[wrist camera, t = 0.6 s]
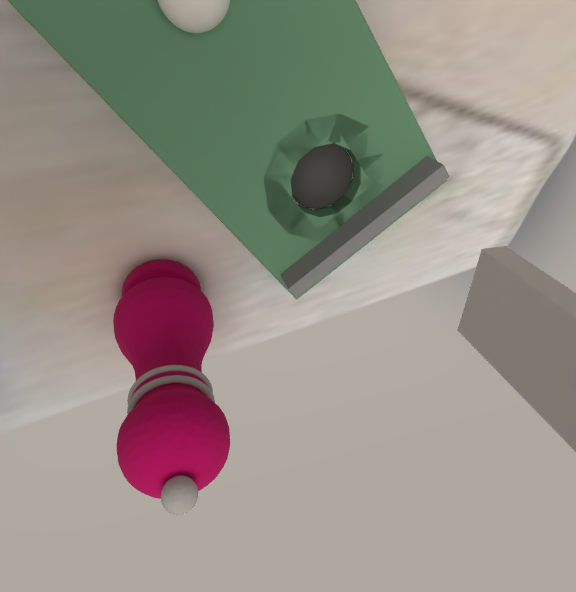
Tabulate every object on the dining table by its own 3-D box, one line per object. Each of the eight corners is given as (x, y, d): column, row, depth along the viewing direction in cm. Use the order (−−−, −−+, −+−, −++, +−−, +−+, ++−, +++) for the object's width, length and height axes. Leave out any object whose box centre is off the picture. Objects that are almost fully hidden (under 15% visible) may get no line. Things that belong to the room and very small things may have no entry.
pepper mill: (156, 341, 40) (168, 571, 24) (95, 288, 36) (61, 523, 20) (222, 296, 39) (282, 500, 23) (169, 236, 35) (196, 435, 19)
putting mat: (3, -11, 25) (-17, -13, 22) (222, -239, 23) (235, -278, 19) (291, 290, 41) (304, 314, 38) (436, 174, 39) (463, 190, 36)
